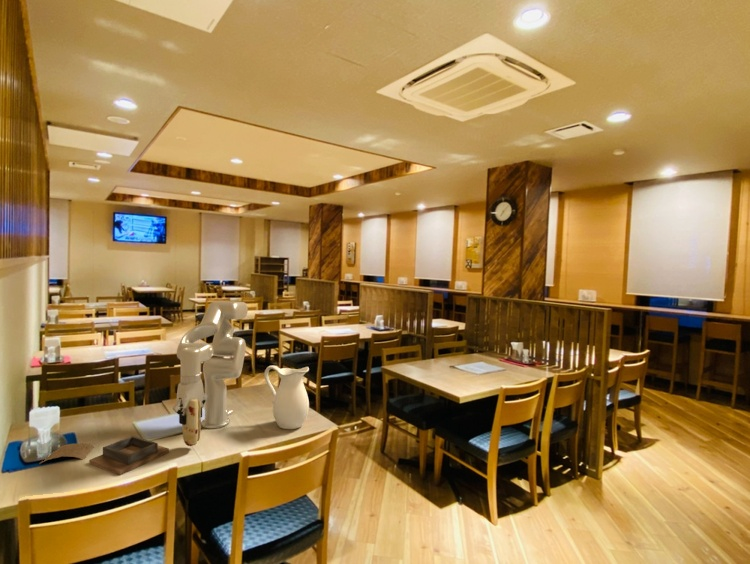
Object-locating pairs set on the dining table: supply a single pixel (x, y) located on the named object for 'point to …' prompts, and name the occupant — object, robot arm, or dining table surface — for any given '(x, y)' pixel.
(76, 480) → the dining table surface
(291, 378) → the pitcher
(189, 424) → the food model
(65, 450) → the brown curved panel
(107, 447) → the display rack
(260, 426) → the dining table surface
